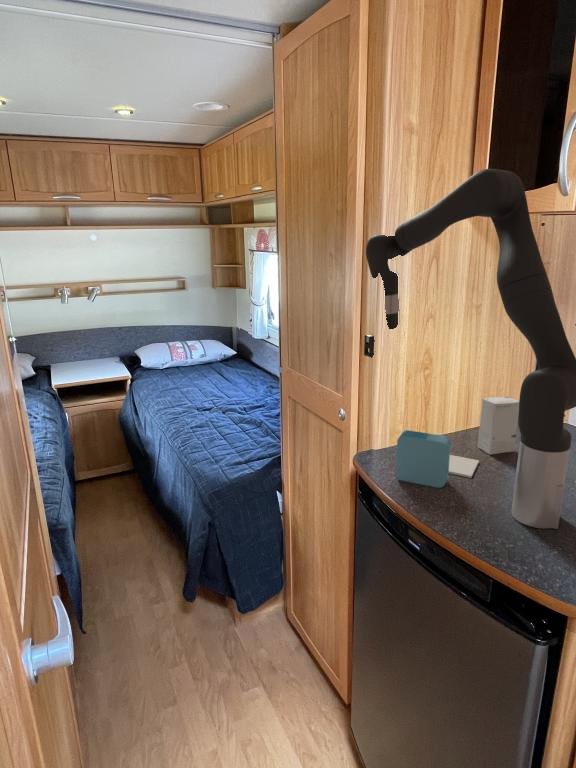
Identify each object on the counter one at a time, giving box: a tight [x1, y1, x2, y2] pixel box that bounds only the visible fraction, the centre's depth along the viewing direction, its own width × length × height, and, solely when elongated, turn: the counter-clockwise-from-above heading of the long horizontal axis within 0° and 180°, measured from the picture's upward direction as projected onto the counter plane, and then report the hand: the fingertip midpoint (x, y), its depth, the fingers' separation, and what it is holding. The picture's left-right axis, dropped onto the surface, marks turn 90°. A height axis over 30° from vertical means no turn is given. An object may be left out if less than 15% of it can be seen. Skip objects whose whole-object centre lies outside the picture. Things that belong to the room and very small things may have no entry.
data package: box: [395, 429, 452, 489], centre depth 122 cm, size 12×4×12 cm, turn 63°
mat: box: [448, 454, 480, 479], centre depth 132 cm, size 14×10×1 cm
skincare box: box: [477, 396, 519, 456], centre depth 139 cm, size 8×6×15 cm
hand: (385, 365), depth 141 cm, fingers open, 8 cm apart
